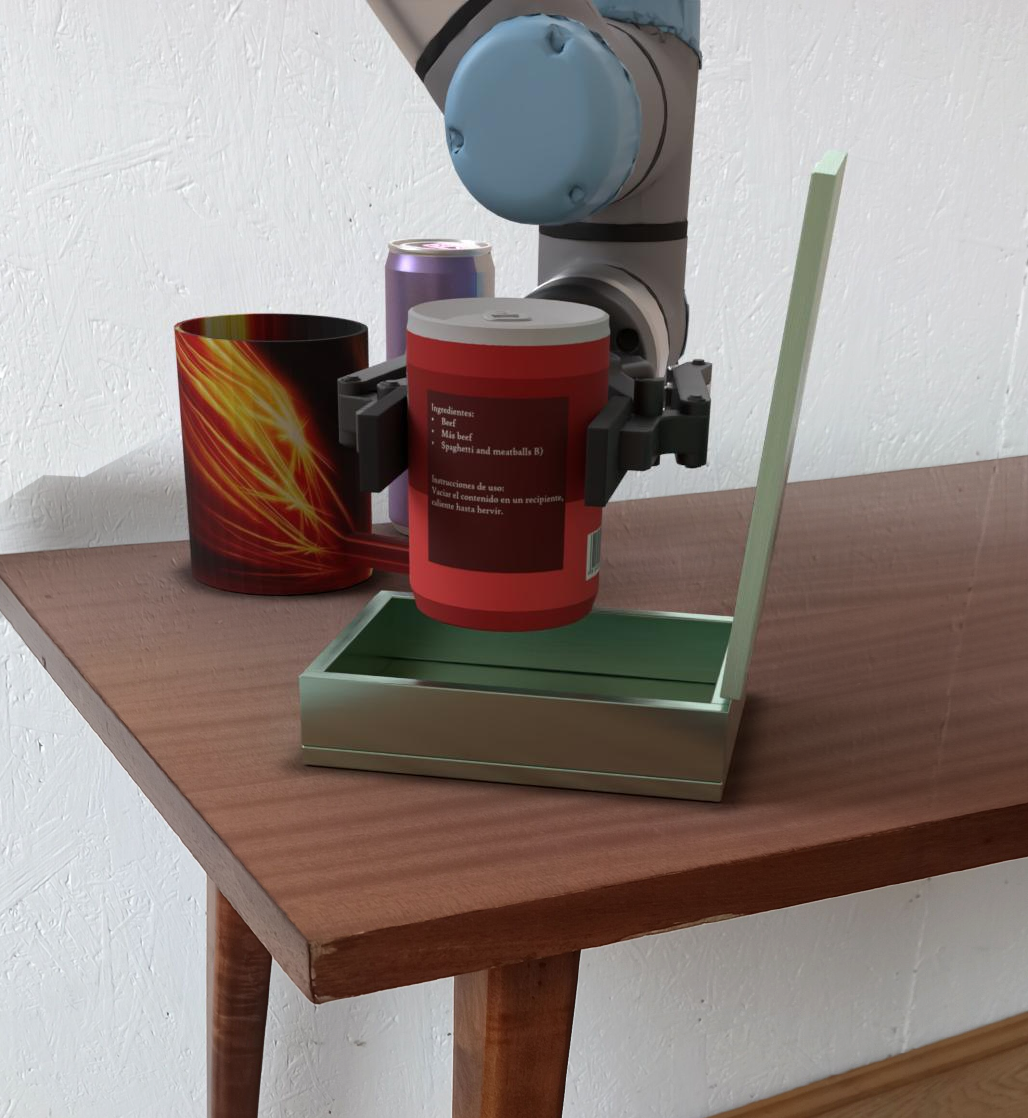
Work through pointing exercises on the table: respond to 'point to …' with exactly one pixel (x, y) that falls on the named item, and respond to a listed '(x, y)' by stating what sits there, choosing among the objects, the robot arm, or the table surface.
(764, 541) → the pale green long bar
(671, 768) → the green open box
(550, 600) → the canned food
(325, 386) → the mug
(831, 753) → the table surface
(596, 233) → the robot arm
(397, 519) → the beverage can
